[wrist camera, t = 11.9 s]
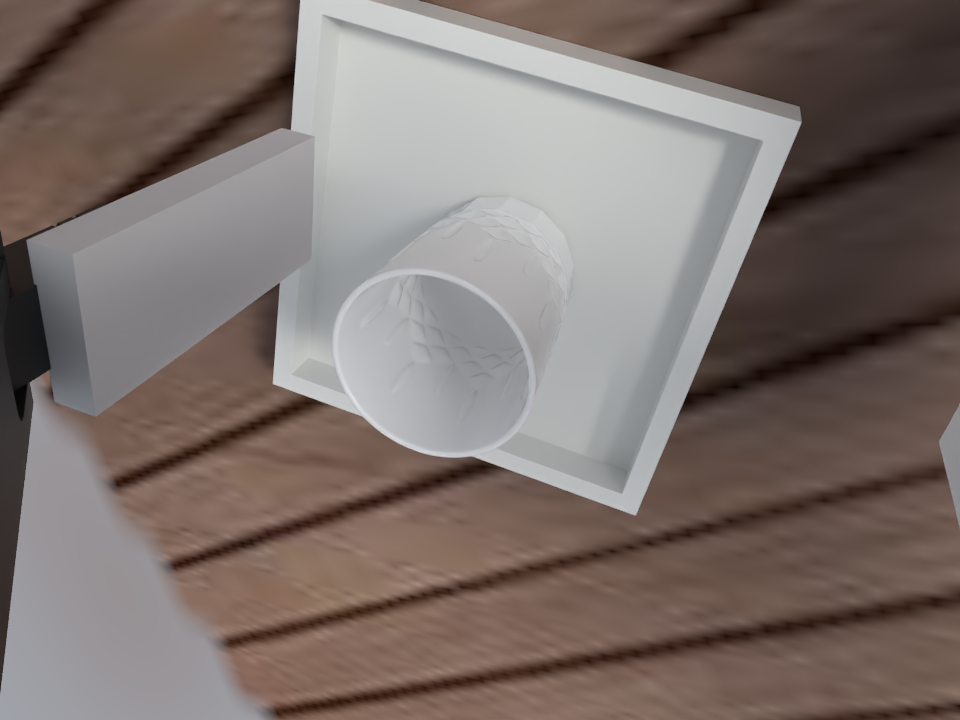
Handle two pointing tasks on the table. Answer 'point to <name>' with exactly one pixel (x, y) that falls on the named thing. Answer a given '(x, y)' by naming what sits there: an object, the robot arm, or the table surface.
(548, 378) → the grey tray
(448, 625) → the table surface
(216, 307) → the robot arm
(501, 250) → the white cup
